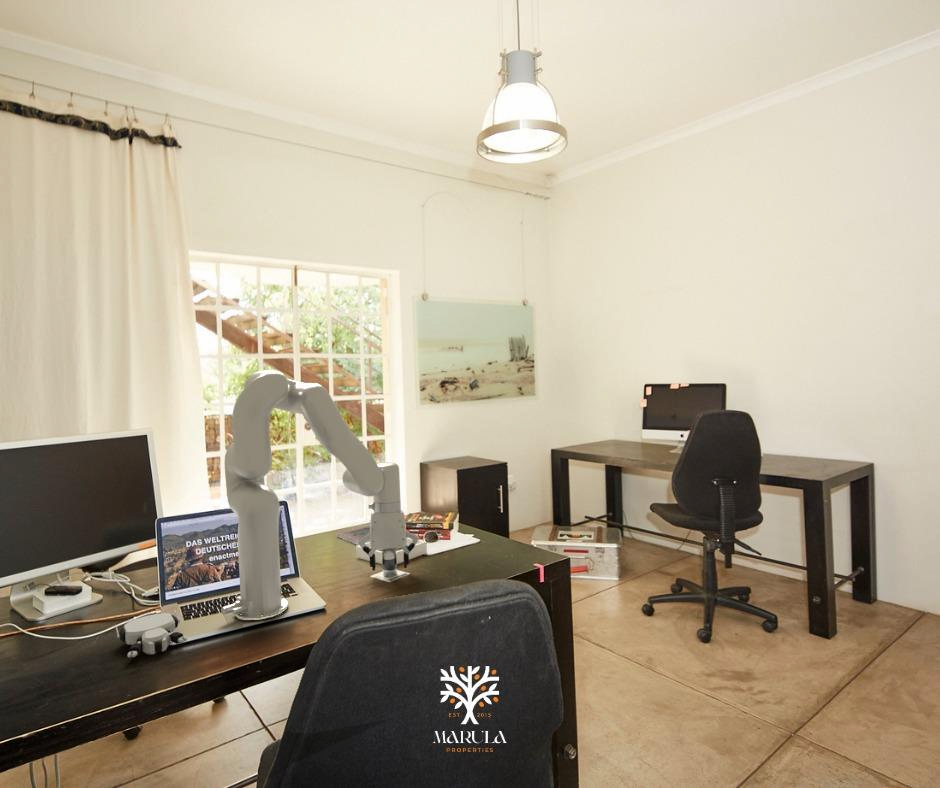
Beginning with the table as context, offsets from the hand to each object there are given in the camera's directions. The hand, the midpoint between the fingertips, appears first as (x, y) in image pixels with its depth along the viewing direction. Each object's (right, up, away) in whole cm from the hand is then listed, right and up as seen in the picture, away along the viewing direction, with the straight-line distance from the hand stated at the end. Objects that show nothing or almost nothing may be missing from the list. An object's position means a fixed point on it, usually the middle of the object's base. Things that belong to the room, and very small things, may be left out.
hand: (389, 567), depth 164 cm
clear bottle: (0, -2, 0) cm, 2 cm away
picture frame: (-12, -3, +46) cm, 47 cm away
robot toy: (-47, -6, -36) cm, 60 cm away
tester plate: (0, -3, 0) cm, 3 cm away
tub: (-2, -2, +18) cm, 19 cm away
